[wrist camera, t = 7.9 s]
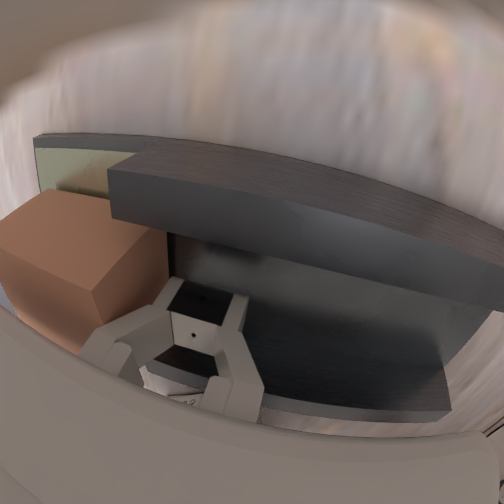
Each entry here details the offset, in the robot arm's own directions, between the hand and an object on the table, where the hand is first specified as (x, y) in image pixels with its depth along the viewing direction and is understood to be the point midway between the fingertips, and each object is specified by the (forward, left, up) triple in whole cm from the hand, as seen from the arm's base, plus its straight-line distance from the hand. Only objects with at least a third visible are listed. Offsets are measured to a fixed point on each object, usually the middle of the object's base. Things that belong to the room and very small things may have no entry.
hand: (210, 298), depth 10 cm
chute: (-1, 0, -2) cm, 3 cm away
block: (+6, 0, -2) cm, 6 cm away
